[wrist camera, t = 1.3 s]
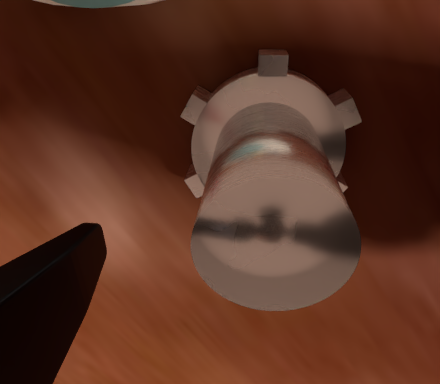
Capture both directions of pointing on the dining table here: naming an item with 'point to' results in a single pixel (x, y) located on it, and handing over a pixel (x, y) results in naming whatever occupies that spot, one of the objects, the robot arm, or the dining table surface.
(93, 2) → the carrier plate
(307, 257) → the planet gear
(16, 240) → the dining table surface
